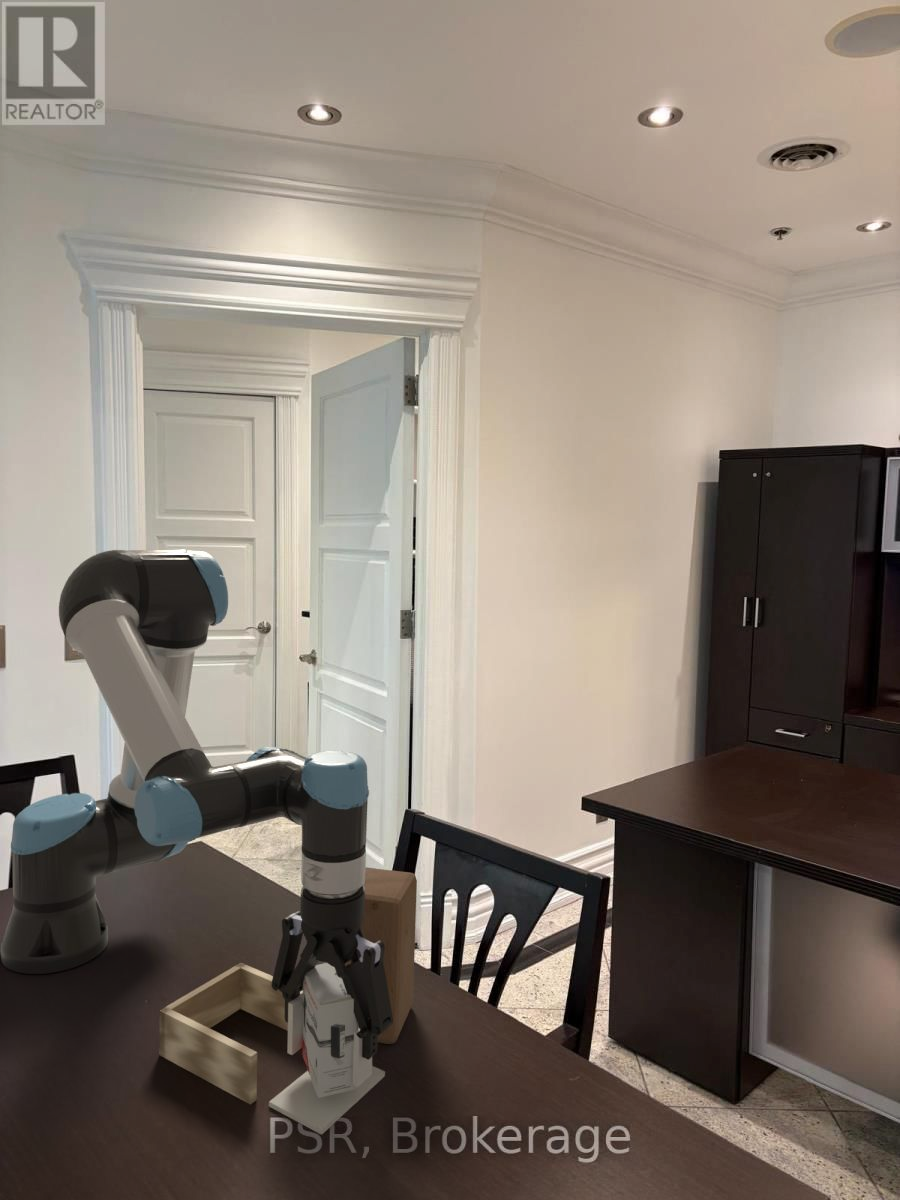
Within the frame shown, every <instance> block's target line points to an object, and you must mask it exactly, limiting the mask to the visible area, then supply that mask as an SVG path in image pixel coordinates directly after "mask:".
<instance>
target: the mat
mask: <svg viewBox="0 0 900 1200" xmlns="http://www.w3.org/2000/svg"><path fill="white" fill-rule="evenodd" d="M385 1076H386V1071H384V1070H382V1069H381V1068H378V1067H376V1066H374V1065H372V1075H371V1076H370V1077H368V1078H367V1079H366V1080H365V1081H364V1082H363V1083H362V1084H361V1085H360V1086H358V1087H357V1089H355V1090H350V1091H346V1092H342V1093H337V1094H333V1095H329V1096H325V1097H321V1098H318V1096H317V1094H316V1091H315V1088H314V1085H313V1083H312V1080H311V1077H310V1075H309V1072H308V1070H306V1071H305V1072H304V1073H303V1074H301V1075H300V1076H299V1077H298V1078H296V1079H295V1080H294V1081H293V1082H292V1083H290V1084H289V1085H288V1086H287V1087H285V1088H284V1089H283V1090H282V1091H281V1092H279V1093H278V1094H277V1095H275V1096H274V1097H273V1098H272V1099H270V1100H269V1101H268V1107H269V1108H271V1109H273V1110H275V1111H276V1112H278V1113H280V1114H282V1115H284V1116H286V1117H288V1118H290V1119H292V1120H293V1121H295V1122H297V1123H298V1124H301V1125H303V1126H305V1127H306V1128H308V1129H310V1130H312V1131H314V1132H315V1133H316V1134H319V1135H321V1136H322V1135H323V1134H325V1132H326V1131H327V1130H329V1129H330V1127H332V1126H333V1125H334V1124H335V1123H336V1122H337V1121H338V1120H339V1119H340V1118H341V1117H342V1116H344V1115H345V1114H346V1113H347V1112H348V1111H349V1110H350V1109H351V1108H352V1107H353V1106H354V1105H355V1104H357V1103H358V1102H359V1101H360V1100H361V1099H362V1098H363V1097H365V1095H366V1094H367V1093H368V1092H370V1091H371V1090H372V1089H373V1088H374V1087H375V1086H376V1085H377V1084H378V1083H379V1082H380V1081H381V1080H382V1079H383V1078H385Z"/></svg>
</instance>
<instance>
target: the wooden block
mask: <svg viewBox="0 0 900 1200" xmlns="http://www.w3.org/2000/svg"><path fill="white" fill-rule="evenodd" d="M417 883H418V881H417V876H416V874H415V873H413V872H408V871H407V872H406V871H399V870H390V869H383V868H382V869H381V868H376V867H375V868H374V867H368V866H366V880H365V883H364V884H363V885H364V887H365V906H364V916H363V919H362V923H361V930H362V933H363V935H364V939H366V940H368V941H370V942H372V943H376V942H377V941H382V942H383V943H384V947H385V948H384V957H383V964H384V970H385V975H386V981H387V987H388V993H389V998H390V1004H391V1010H392V1016H393V1024H392V1025H390V1026H389V1027H388V1028H387V1029H386V1030H385V1031H384V1032H382V1033H381V1034H380V1035H378V1042H377V1043H380V1044H388V1045H391V1044H395V1043H396V1042H397V1041H398V1038H399V1036H400V1034H401V1031H402V1028H403V1027H404V1024H405V1022H406V1020H407V1018H408V1015H409V1012H410V1011H411V1009H412V1005H413V1003H414V985H415V984H414V981H415V980H414V979H415V976H414V975H415V974H414V973H415V951H416V949H415V947H416V923H417V922H416V921H417V919H416V918H417V917H416V916H417V892H418V891H417V890H418V888H417V887H418V885H417ZM359 952H360V951H359ZM360 955H361V952H360ZM349 963H351V959H350V960H349V961H348V962H347V963H345V966H347V965H348V964H349ZM368 1019H369V1018H368ZM358 1028H359V1026H358Z"/></svg>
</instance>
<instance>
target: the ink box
mask: <svg viewBox="0 0 900 1200" xmlns="http://www.w3.org/2000/svg"><path fill="white" fill-rule="evenodd" d="M353 1010H354V999H352V998H351V995H348V994H347V992H346V989H345V986H344V983H343V980H342V978H340V977H338V976H337V973H336V970H335V967H333V966H331V965H329V964H328V963H327V962H323V963H321V964H316V966H315V967H314V968H313V969H312V970H310V971H309V972H307V973H306V974H305V977H304V981H303V1036H302V1038H303V1041H302V1048H301V1049H302V1052H301V1054H302V1055H301V1056H302V1058H303V1061H304V1062H305V1063H304V1064H305V1065H306V1069H307V1071H308V1072H309V1075H310V1077H311V1080H312V1083H313V1085H314V1088H315V1091H316V1094H317V1096H318V1098H321V1097H325V1096H329V1095H333V1094H337V1093H342V1092H346V1091H350V1090H355V1089H357V1087H356V1086H354V1085H353V1049H354V1032H355V1031H356V1030H357V1029H358V1023H357V1020H356V1017H355V1014H354V1012H353Z"/></svg>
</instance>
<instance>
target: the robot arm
mask: <svg viewBox="0 0 900 1200" xmlns="http://www.w3.org/2000/svg"><path fill="white" fill-rule="evenodd" d="M228 608H229V592H228V586H227V581H226V577H225V576H224V572H223V570H222V568H221V566H220V563H218V561H217V560H216V559H215V558H214V556H212V555H211V554H210V553H208V552H206V551H203V550H186V549H184V548H179V549H150V550H149V549H147V550H146V549H139V550H137V549H136V550H124V549H113V550H107V551H105V550H104V551H102V552H99V553H97V554H94V555H92V556H90V557H88V558H87V559H85V560H83V561H82V562H81V563H80V564H79V565H78V566H77V567H76V568H75V569H74V570H73V571H72V572H71V573H70V575H69V576H68V578H67V580H66V581H65V583H64V586H63V588H62V589H61V593H60V597H59V603H58V618H59V624H60V627H61V630H62V633H63V635H64V636H65V639H66V642H67V643H68V645H69V646H70V648H72V649H73V650H74V651H76V652H77V653H79V654H82V656H83V658H84V661H85V662H86V665H87V666H88V668H89V670H90V673H91V675H92V676H93V678H94V681H95V683H96V685H97V688H98V690H99V691H100V693H101V695H102V697H103V700H104V702H105V703H106V706H107V708H108V710H109V713H110V714H111V716H112V718H113V720H114V722H115V725H116V727H117V729H118V731H119V733H120V735H121V737H122V739H123V741H124V744H123V745H124V746H123V752H122V753H123V755H122V760H121V761H122V763H121V769H120V774H118V775H116V776H115V777H114V778H113V779H112V780H111V781H110V783H109V786H108V793H107V797H106V798H101V799H98V800H95V799H94V797H93V796H91V795H90V794H88V793H84V792H83V793H81V792H72V793H70V794H69V793H61V794H58V795H54V796H53V795H52V796H48V797H45V798H42V799H40V800H37V801H35V802H34V803H32V804H29V805H27V806H26V807H24V808H23V809H22V811H20V812H19V813H18V814H17V815H16V816H15V818H14V820H13V823H12V833H11V842H10V850H11V853H12V854H11V858H12V861H11V863H12V899H13V900H12V901H13V902H12V903H13V904H12V911H11V914H10V917H9V920H8V923H7V926H6V929H5V932H4V935H3V938H2V941H1V945H0V959H1V960H0V961H1V963H2V965H3V966H4V967H5V968H7V969H8V970H10V971H13V972H17V973H20V974H26V975H44V974H53V973H58V972H59V973H60V972H62V971H67V970H71V969H73V968H76V967H79V966H81V965H84V964H86V963H88V962H90V961H92V960H93V959H95V958H96V957H97V956H99V955H100V954H101V953H103V951H104V950H105V949H106V947H108V943H109V939H108V938H109V933H108V930H109V929H108V923H107V920H106V918H105V916H104V913H103V910H102V908H101V906H100V903H99V900H98V898H97V895H96V892H97V891H96V890H97V889H96V886H97V885H96V881H97V880H96V879H97V878H98V877H100V876H103V875H106V874H110V873H115V872H118V871H122V870H125V869H129V868H134V867H138V866H142V865H145V864H146V865H147V864H149V863H157V862H160V861H163V860H165V859H166V858H169V857H172V856H175V855H177V854H179V853H181V852H182V851H183V850H184V849H185V848H186V846H187V845H188V843H190V842H193V841H195V840H196V839H200V838H203V837H207V836H210V835H214V834H217V833H221V832H224V831H228V830H232V829H237V828H238V829H239V828H243V827H246V826H250V825H254V824H255V825H256V824H258V823H259V824H260V823H263V822H267V821H269V820H273V819H278V818H284V819H287V820H288V821H290V822H292V823H295V824H296V825H299V826H301V870H300V871H301V876H300V877H301V878H300V881H301V885H302V886H301V888H300V907H299V908H300V909H299V910H300V911H299V910H297V911H295V912H293V913H291V914H290V915H287V916H286V917H284V918H283V919H282V920H281V927H282V928H281V929H282V930H281V931H282V937H281V942H280V945H279V950H278V954H277V958H276V964H275V967H274V971H273V975H272V976H273V979H272V984H271V985H272V988H273V989H274V990H275V991H277V990H280V991H281V992H282V996H283V998H284V999H285V1021H286V1022H287V1023H288V1031H287V1055H288V1054H289V1055H291V1056H293V1055H294V1054H296V1053H297V1052H299V1050H301V1049H302V1041H303V1038H302V1036H303V993H302V994H300V992H301V991H302V990H303V981H304V977H305V974H306V973H307V972H309V971H310V970H312V969H313V968H314V967H315V966H316V965H318V963H319V962H320V963H321V962H323V963H328V964H329V965H331V966H333V967H335V970H336V973H337V976H338V977H340V978H342V980H343V983H344V986H345V989H346V992H347V994H348V995H351V998H352V999H354V1010H353V1012H354V1014H355V1017H356V1020H357V1023H358V1026H359V1028H358V1029H357V1030H356V1031H355V1032H354V1049H353V1085H354V1086H356V1087H358V1086H360V1085H361V1084H362V1083H363V1082H364V1081H365V1080H366V1079H367V1078H368V1077H370V1076H371V1075H372V1066H373V1057H374V1056H375V1055H376V1053H377V1052H378V1043H379V1042H378V1035H380V1034H381V1033H382V1032H384V1031H385V1030H386V1029H387V1028H388V1027H389V1026H390V1025H392V1024H393V1016H392V1010H391V1004H390V998H389V993H388V987H387V981H386V975H385V970H384V964H383V957H384V948H385V947H384V943H383V942H382V941H377V942H376V943H372V942H370V941H368V940H366V939H364V935H363V933H362V930H361V923H362V919H363V916H364V906H365V887H364V885H363V884H364V883H365V880H366V867H367V845H366V844H367V830H368V829H367V828H368V827H367V826H368V825H367V824H368V806H369V805H368V802H369V801H368V799H369V795H370V790H369V784H368V765H367V763H366V760H365V759H364V757H362V756H360V755H359V754H357V753H354V752H344V751H343V750H327V751H325V750H323V751H319V752H316V753H312V754H311V755H309V756H308V757H306V756H303V755H301V754H299V753H297V752H295V751H294V750H289V749H288V748H281V747H277V746H265V747H262V748H259V749H257V751H255V752H254V753H253V754H251V755H250V756H248V758H247V759H246V760H245V761H239V762H235V763H228V764H223V765H218V766H213V765H212V764H211V763H210V760H209V758H208V757H207V755H206V754H205V752H204V749H202V746H201V744H200V743H199V740H198V739H197V737H196V734H195V733H194V731H193V730H192V727H191V726H190V724H189V722H188V720H187V718H186V713H187V706H188V699H189V694H190V685H191V679H192V673H193V666H194V658H195V651H196V650H198V649H200V648H201V647H202V646H204V645H205V644H206V643H207V639H208V632H209V627H210V626H211V627H214V626H216V625H219V624H220V623H221V622H223V620H225V618H226V616H227V614H228ZM303 936H304V938H305V940H306V945H305V946H304V949H303V950H302V952H301V954H300V956H299V951H300V948H301V944H302V939H303ZM359 951H360V952H361V955H360V952H359ZM298 956H299V958H300V959H299V961H298V963H297V959H298ZM350 959H351V963H349V964H348V965H347V966H345V963H347V962H348V961H349V960H350ZM368 1018H369V1019H368Z"/></svg>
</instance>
